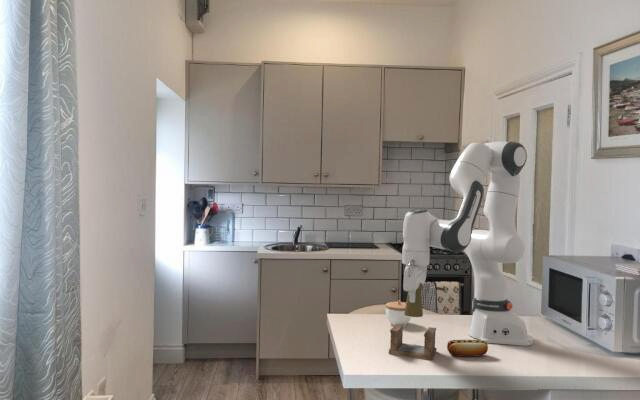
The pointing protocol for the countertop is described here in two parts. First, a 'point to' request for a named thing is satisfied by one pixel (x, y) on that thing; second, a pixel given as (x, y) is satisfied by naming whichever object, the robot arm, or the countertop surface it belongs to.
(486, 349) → the hot dog
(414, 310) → the olive green bulbous cylinder
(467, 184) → the robot arm
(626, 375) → the countertop surface
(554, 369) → the countertop surface
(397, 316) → the lidded jar
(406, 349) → the holder
